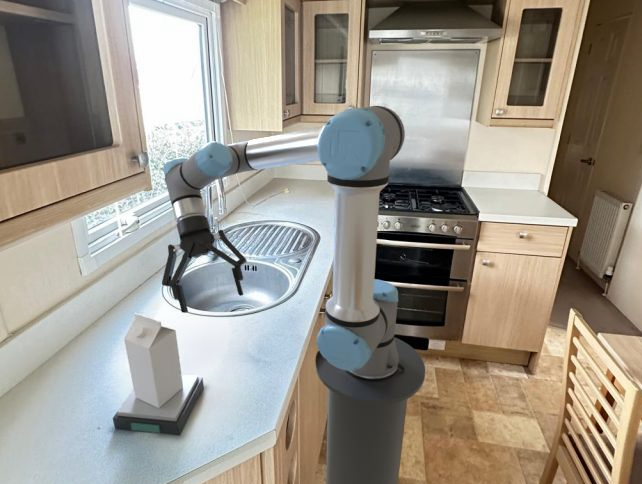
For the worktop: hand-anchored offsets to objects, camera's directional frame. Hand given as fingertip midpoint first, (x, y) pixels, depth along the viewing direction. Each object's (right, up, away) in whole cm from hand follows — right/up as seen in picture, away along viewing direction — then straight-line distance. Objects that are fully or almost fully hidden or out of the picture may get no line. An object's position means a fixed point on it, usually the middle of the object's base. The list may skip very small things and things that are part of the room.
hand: (213, 303), depth 95 cm
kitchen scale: (-10, -22, -6) cm, 25 cm away
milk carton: (-10, -18, -7) cm, 22 cm away
